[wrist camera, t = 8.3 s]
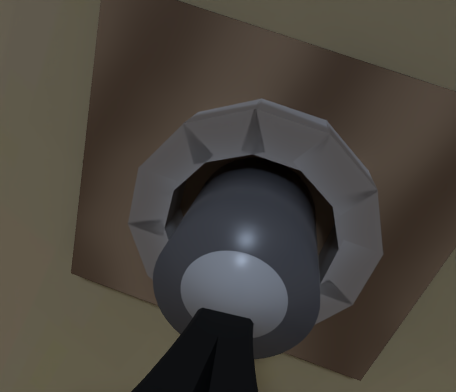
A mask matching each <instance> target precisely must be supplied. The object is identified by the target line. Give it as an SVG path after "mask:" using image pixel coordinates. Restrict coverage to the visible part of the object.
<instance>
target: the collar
mask: <svg viewBox="0 0 456 392" xmlns="http://www.w3.org/2000/svg"><path fill="white" fill-rule="evenodd" d="M244 158H264V159H268V160H271V161H274V162H277V163H280V164H282V165H284V166H286V167H288V168H290V169H291V170H292V171H294V172H295V173H296V174H297V175H298V176H299V177H300V178H301V179H302V180H303V181H304V182H305V184H306V185H307V187H308V189H309V190H310V193H311V195H312V198H313V201H314V206H315V218H316V234H317V251H318V267H319V283H320V310H319V315H318V318H317V320H316V323H315V325H314V327H313V328H312V330H311V332H310V333H309V334H308V335H307V336H306V337H305V339H303V340H302V341H301V342H300V343H299V344H298V345H296V346H294V347H293V348H291V349H290V350H288V351H285V352H284V353H287V354H290V355H292V356H295V357H298V358H300V359H303V360H306V361H308V362H311V363H314V364H316V365H319V366H322V367H325V368H327V369H330V370H333V371H335V372H338V373H341V374H343V375H346V376H349V377H351V378H354V379H357V380H360V381H361V379H362V378H363V377H364V375H365V374H366V372H367V371H368V369H369V368H370V367H371V365H372V364H373V362H374V361H375V360H376V358H377V357H378V355H379V354H380V353H381V351H382V350H383V348H384V347H385V346H386V344H387V343H388V341H389V340H390V339H391V337H392V336H393V334H394V333H395V332H396V330H397V329H398V327H399V326H400V325H401V323H402V322H403V320H404V319H405V318H406V316H407V315H408V313H409V312H410V311H411V309H412V308H413V306H414V305H415V304H416V302H417V301H418V299H419V298H420V297H421V295H422V294H423V292H424V291H425V290H426V288H427V287H428V285H429V284H430V283H431V281H432V280H433V278H434V277H435V275H436V274H437V273H438V271H439V270H440V268H441V267H442V266H443V264H444V263H445V261H446V260H447V259H448V257H449V256H450V254H451V253H452V252H453V250H454V249H455V247H456V92H455V91H452V90H449V89H446V88H443V87H440V86H437V85H434V84H431V83H428V82H425V81H422V80H419V79H416V78H413V77H410V76H406V75H403V74H400V73H397V72H394V71H391V70H388V69H385V68H382V67H379V66H376V65H373V64H370V63H367V62H364V61H361V60H358V59H355V58H352V57H349V56H346V55H342V54H339V53H336V52H333V51H330V50H327V49H324V48H321V47H318V46H315V45H312V44H309V43H306V42H303V41H300V40H297V39H294V38H291V37H288V36H285V35H281V34H278V33H275V32H272V31H269V30H266V29H263V28H260V27H257V26H254V25H251V24H248V23H245V22H242V21H239V20H236V19H233V18H230V17H227V16H224V15H220V14H217V13H214V12H211V11H208V10H205V9H202V8H199V7H196V6H193V5H190V4H187V3H184V2H181V1H178V0H101V3H100V13H99V22H98V31H97V40H96V49H95V58H94V67H93V77H92V86H91V95H90V104H89V113H88V122H87V131H86V141H85V150H84V159H83V168H82V177H81V186H80V196H79V205H78V214H77V223H76V232H75V241H74V250H73V260H72V269H71V273H72V274H75V275H77V276H80V277H83V278H85V279H88V280H91V281H93V282H96V283H99V284H101V285H104V286H107V287H110V288H112V289H115V290H118V291H120V292H123V293H126V294H128V295H131V296H134V297H136V298H139V299H142V300H144V301H147V302H150V303H153V304H155V305H158V304H157V301H156V298H155V294H154V289H153V271H154V267H155V264H156V261H157V259H158V257H159V254H160V253H161V251H162V250H163V248H164V247H165V245H166V244H167V242H168V240H169V239H170V237H171V236H172V234H173V233H174V231H175V230H176V228H177V227H178V225H179V224H180V222H181V220H182V219H183V217H184V216H185V214H186V213H187V211H188V210H189V208H190V207H191V205H192V204H193V202H194V200H195V199H196V197H197V196H198V194H199V193H200V191H201V190H202V188H203V187H204V185H205V183H206V182H207V181H208V179H209V178H210V177H211V175H212V174H213V173H214V172H215V171H217V170H218V169H219V168H220V167H222V166H224V165H225V164H227V163H230V162H232V161H235V160H239V159H244Z"/></svg>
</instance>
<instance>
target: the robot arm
mask: <svg viewBox="0 0 456 392" xmlns="http://www.w3.org/2000/svg"><path fill="white" fill-rule="evenodd" d="M253 326H254V323H253V322H252V320H251V319H249V318H245V317H241V316H237V315H232V314H228V313H224V312H220V311H215V310H211V309H207V308H201V309H199V310H197V312H196V314H195V315H194V317H193V318H192V320H191V321H190V323H189V324H188V326H187V327H186V328H185V330H184V331H183V332H182V334H181V335H180V336H179V338H178V339H177V340H176V341H175V343H174V344H173V345H172V346H171V348H170V349H169V350H168V351H167V352H166V354H165V355H164V356H163V357H162V358H161V359H160V361H159V362H158V363H157V364H156V365H155V366H154V368H153V369H152V370H151V371H150V372H149V373H148V374H147V376H146V377H145V378H144V379H143V380H142V381H141V382H140V383H139V384H138V385H137V386H136V387H135V388H134V389H133V390H132V391H131V392H258V389H257V382H256V374H255V365H254V354H253Z"/></svg>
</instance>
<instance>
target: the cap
mask: <svg viewBox="0 0 456 392" xmlns="http://www.w3.org/2000/svg"><path fill="white" fill-rule="evenodd" d="M153 289H154V294H155V298H156V301H157V304H158V306H159V308H160V310H161V312H162V313H163V315H164V316H165V318H166V319H167V321H168V322H169V323H170V324H171V325H172V327H173V328H174V329H175V330H176V331H177V332H179V333H180V334H182V332H183V331H184V330H185V328H186V327H187V326H188V324H189V323H190V321H191V320H192V318H193V317H194V315H195V314H196V312H197V310H199V309H201V308H207V309H211V310H215V311H220V312H224V313H228V314H232V315H237V316H241V317H245V318H249V319H251V320H252V322H253V323H254V326H253V354H254V359H260V358H266V357H271V356H275V355H278V354H281V353H283V352H285V351H288V350H290V349H291V348H293V347H294V346H296V345H298V344H299V343H300V342H301V341H302V340H303V339H305V337H306V336H307V335H308V334H309V333H310V332H311V330H312V328H313V327H314V325H315V323H316V320H317V318H318V315H319V310H320V283H319V267H318V251H317V234H316V218H315V206H314V201H313V198H312V195H311V193H310V190H309V189H308V187H307V185H306V184H305V182H304V181H303V180H302V179H301V178H300V177H299V176H298V175H297V174H296V173H295V172H294V171H292V170H291V169H290V168H288V167H286V166H284V165H282V164H280V163H277V162H274V161H271V160H268V159H264V158H244V159H239V160H235V161H232V162H230V163H227V164H225V165H224V166H222V167H220V168H219V169H218V170H217V171H215V172H214V173H213V174H212V175H211V177H210V178H209V179H208V181H207V182H206V183H205V185H204V187H203V188H202V190H201V191H200V193H199V194H198V196H197V197H196V199H195V200H194V202H193V204H192V205H191V207H190V208H189V210H188V211H187V213H186V214H185V216H184V217H183V219H182V220H181V222H180V224H179V225H178V227H177V228H176V230H175V231H174V233H173V234H172V236H171V237H170V239H169V240H168V242H167V244H166V245H165V247H164V248H163V250H162V251H161V253H160V254H159V257H158V259H157V261H156V264H155V267H154V271H153Z"/></svg>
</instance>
